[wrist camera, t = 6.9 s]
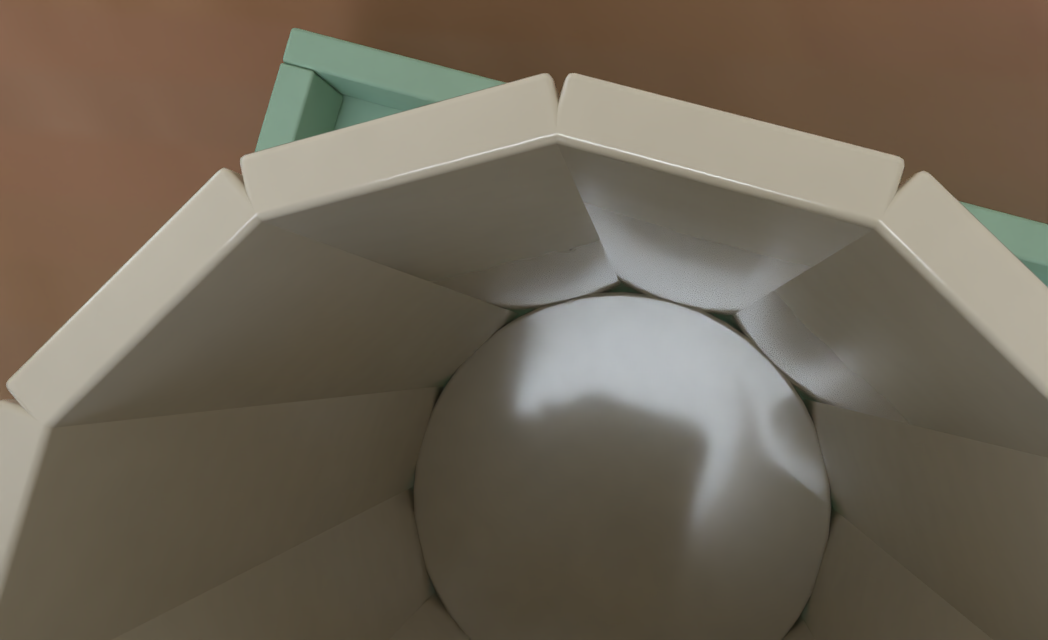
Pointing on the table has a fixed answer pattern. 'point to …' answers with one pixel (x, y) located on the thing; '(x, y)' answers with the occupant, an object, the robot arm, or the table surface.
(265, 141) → the tray
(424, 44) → the table surface
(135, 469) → the cup
